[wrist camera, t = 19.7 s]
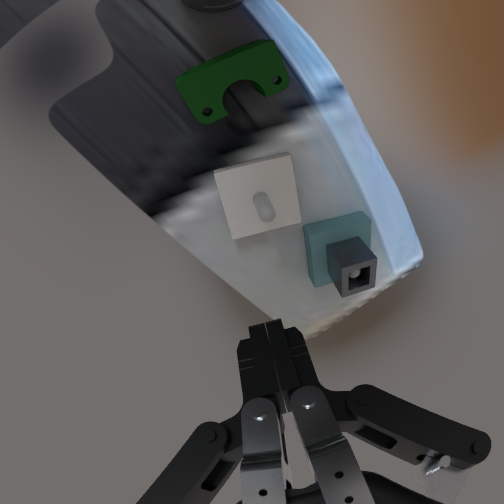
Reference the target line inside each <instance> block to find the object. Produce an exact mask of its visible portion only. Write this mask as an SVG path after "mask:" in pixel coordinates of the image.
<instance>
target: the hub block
mask: <svg viewBox="0 0 504 504" xmlns="http://www.w3.org/2000/svg"><path fill="white" fill-rule="evenodd" d="M303 229H304V236H305V244H306V252H307V260H308V269H309V277H310V279H311V281H312V283H313V285H314V287H319V286H322V285H326V284H329V283H333V281H332V279H331V277H330V276H329V274H328V266H327V251H326V245H327V244H331V243H334V242H338V241H342V240H346V239H349V238H353V237H357V236H359V237H360V238H361V240H362V241H363V242H364V243H365V244H366V245H367V246H368V248H369V249H370V243H371V219H370V218H369V217H368V216H366V215H365V214H364V213H363V212H362V211H361V212H357V213H353V214H349V215H345V216H341V217H337V218H333V219H329V220H324V221H320V222H316V223H312V224H308V225H305V226H303ZM359 274H360V269H358V270H355V271H351V272H349V277H350V278H356V277H357V276H358V275H359Z"/></svg>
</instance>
